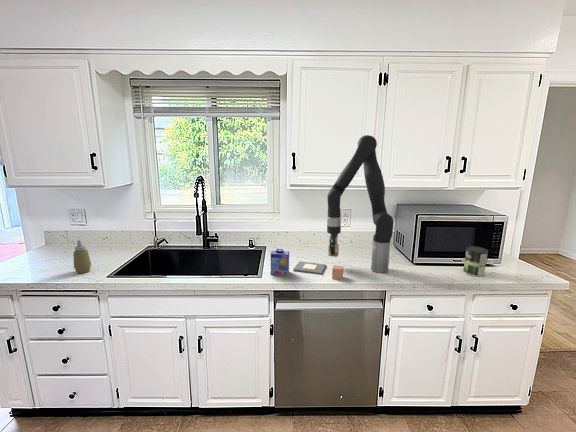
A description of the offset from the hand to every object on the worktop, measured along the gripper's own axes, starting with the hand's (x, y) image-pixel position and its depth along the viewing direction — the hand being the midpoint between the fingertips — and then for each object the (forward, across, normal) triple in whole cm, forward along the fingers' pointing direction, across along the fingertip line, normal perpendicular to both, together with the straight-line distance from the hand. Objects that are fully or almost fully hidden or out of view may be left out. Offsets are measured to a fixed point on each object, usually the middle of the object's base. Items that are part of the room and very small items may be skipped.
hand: (333, 253), depth 178 cm
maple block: (+1, 0, 0) cm, 1 cm away
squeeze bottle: (+5, -51, +129) cm, 139 cm away
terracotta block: (+9, -13, -4) cm, 17 cm away
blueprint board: (+8, -6, +12) cm, 16 cm away
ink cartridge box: (+8, -18, +26) cm, 33 cm away
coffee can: (+11, +17, -75) cm, 78 cm away
